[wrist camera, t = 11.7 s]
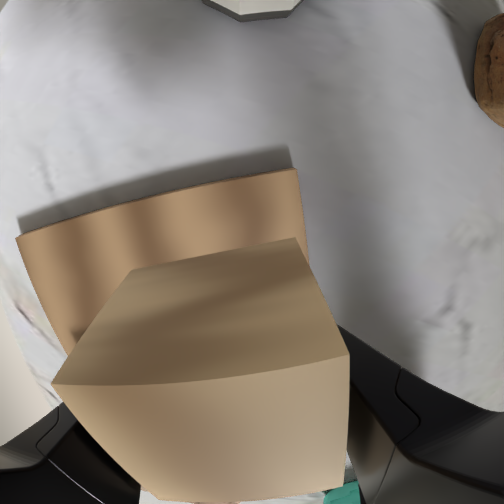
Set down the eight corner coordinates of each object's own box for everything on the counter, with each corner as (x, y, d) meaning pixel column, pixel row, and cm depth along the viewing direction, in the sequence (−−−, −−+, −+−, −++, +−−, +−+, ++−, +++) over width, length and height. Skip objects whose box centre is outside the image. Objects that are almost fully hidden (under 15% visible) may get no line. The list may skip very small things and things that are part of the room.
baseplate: (293, 167, 18) (296, 169, 17) (318, 414, 27) (321, 423, 26) (23, 233, 19) (14, 238, 18) (124, 427, 28) (122, 436, 27)
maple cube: (295, 237, 8) (349, 354, 4) (312, 366, 10) (343, 486, 6) (131, 269, 9) (50, 383, 4) (181, 385, 10) (159, 499, 6)
